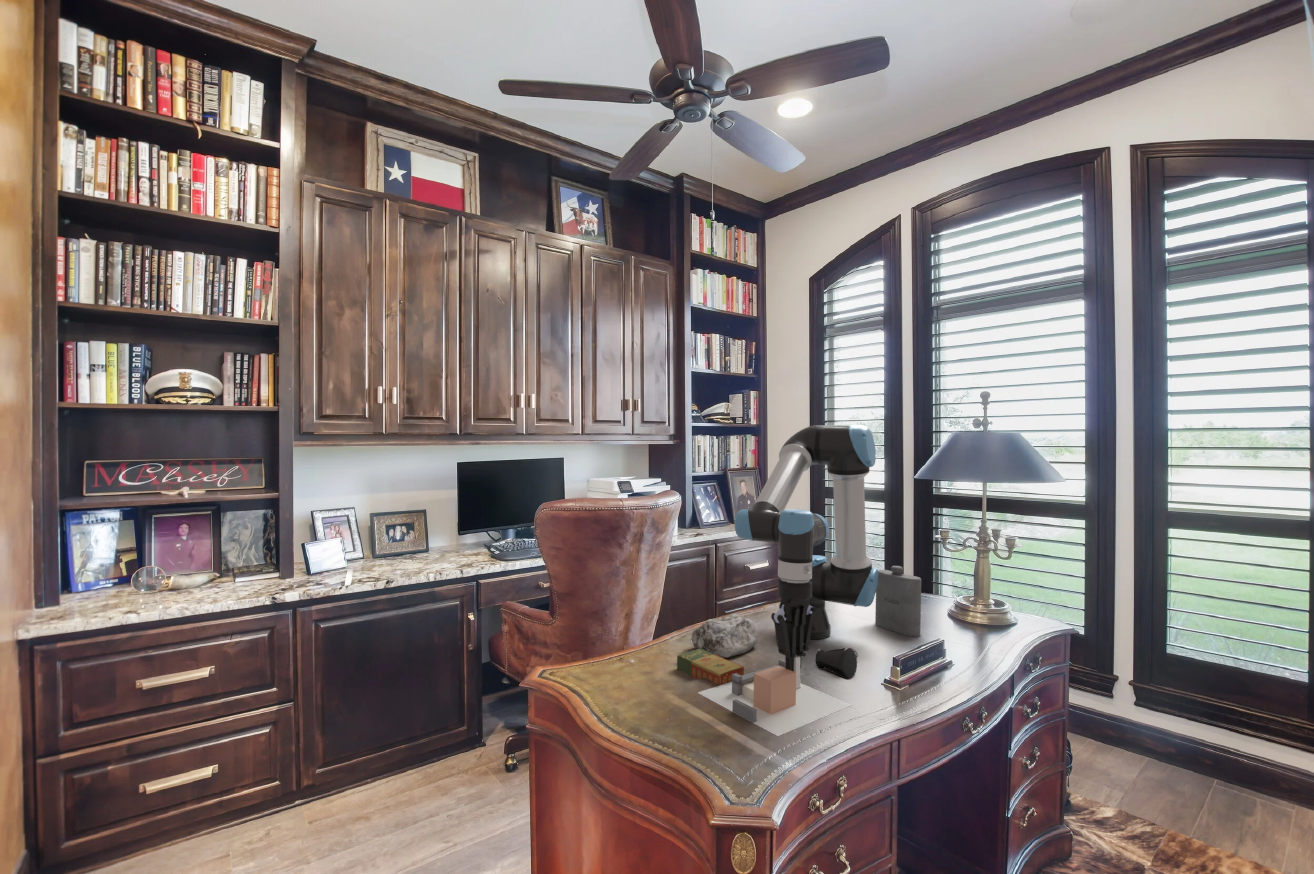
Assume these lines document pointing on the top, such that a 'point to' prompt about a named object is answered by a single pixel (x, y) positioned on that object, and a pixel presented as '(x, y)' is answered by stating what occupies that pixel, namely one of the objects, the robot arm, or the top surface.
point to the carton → (708, 666)
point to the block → (774, 689)
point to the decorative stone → (726, 635)
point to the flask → (898, 602)
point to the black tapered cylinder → (838, 661)
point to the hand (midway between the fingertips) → (792, 684)
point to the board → (805, 711)
